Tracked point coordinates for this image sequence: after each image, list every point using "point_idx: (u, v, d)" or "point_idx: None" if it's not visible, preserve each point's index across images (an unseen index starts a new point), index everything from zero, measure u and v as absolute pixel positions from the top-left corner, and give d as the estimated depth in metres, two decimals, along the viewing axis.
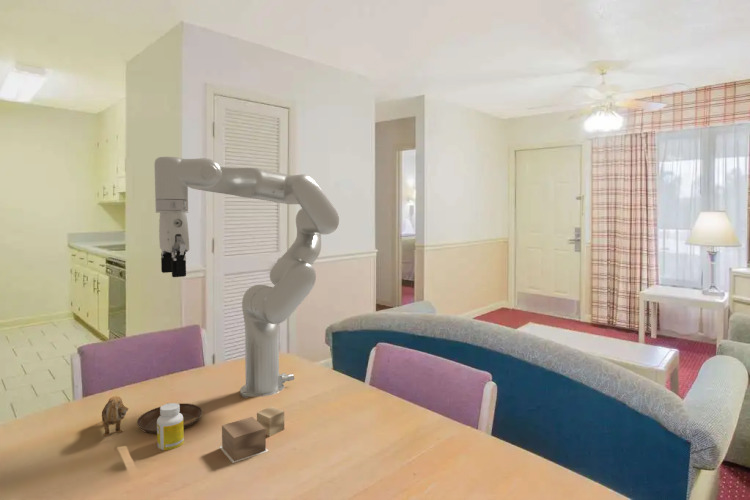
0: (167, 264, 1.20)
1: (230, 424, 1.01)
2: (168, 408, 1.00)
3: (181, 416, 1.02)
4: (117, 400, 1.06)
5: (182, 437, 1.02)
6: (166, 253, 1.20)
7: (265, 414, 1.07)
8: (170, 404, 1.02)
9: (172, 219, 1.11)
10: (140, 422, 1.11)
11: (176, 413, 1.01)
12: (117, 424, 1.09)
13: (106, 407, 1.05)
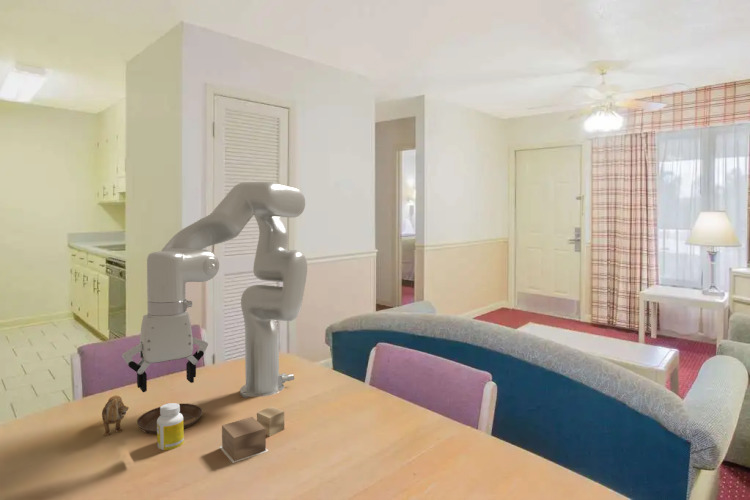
0: None
1: (230, 424, 1.01)
2: (168, 408, 1.00)
3: (181, 416, 1.02)
4: (117, 399, 1.07)
5: (182, 437, 1.02)
6: None
7: (265, 414, 1.07)
8: (170, 404, 1.02)
9: None
10: (140, 422, 1.11)
11: (176, 413, 1.01)
12: (117, 423, 1.09)
13: (106, 406, 1.06)
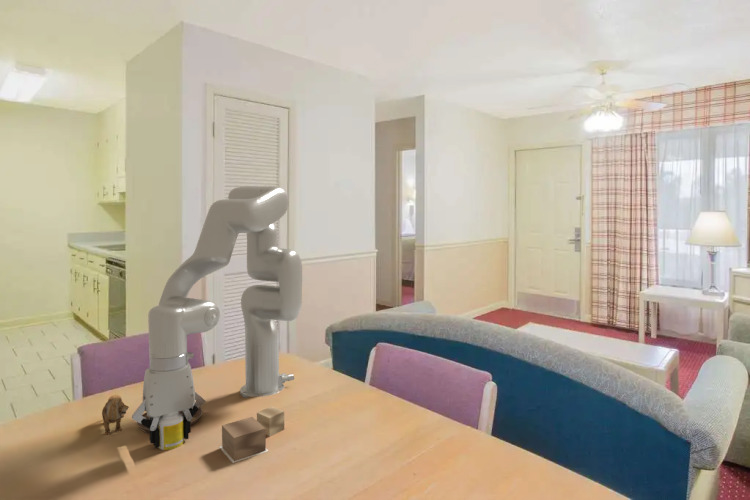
0: None
1: (230, 424, 1.01)
2: None
3: (181, 416, 1.02)
4: (117, 399, 1.07)
5: (182, 437, 1.02)
6: None
7: (265, 414, 1.07)
8: None
9: (191, 372, 1.03)
10: None
11: (176, 413, 1.01)
12: (117, 422, 1.10)
13: (106, 406, 1.06)
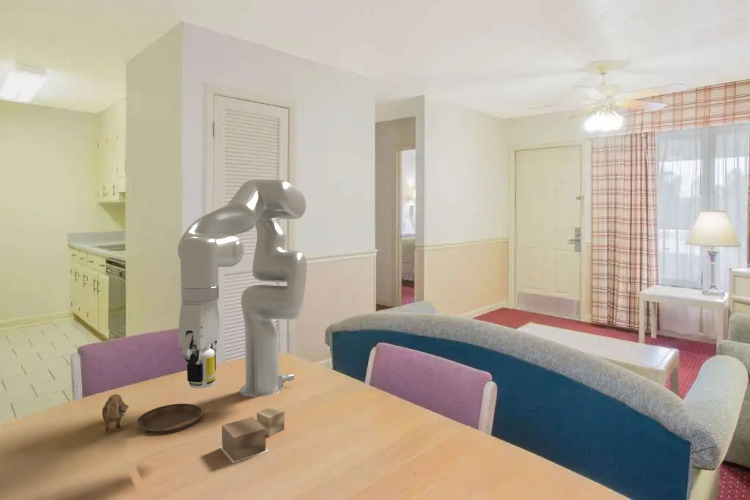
0: None
1: (230, 424, 1.01)
2: None
3: None
4: (117, 398, 1.08)
5: None
6: None
7: (265, 414, 1.07)
8: None
9: None
10: (140, 422, 1.11)
11: (210, 345, 1.00)
12: (117, 421, 1.10)
13: (107, 405, 1.07)
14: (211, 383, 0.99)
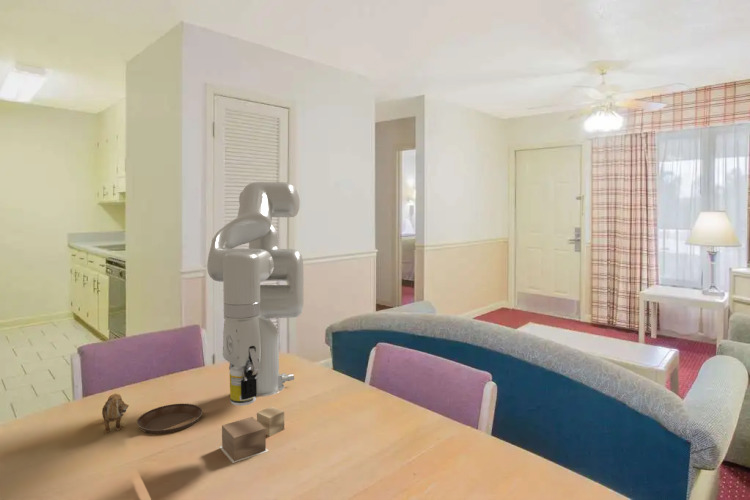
0: None
1: (230, 424, 1.01)
2: None
3: None
4: (117, 397, 1.08)
5: None
6: None
7: (265, 414, 1.07)
8: None
9: None
10: (140, 422, 1.11)
11: None
12: (117, 421, 1.10)
13: (107, 404, 1.07)
14: None
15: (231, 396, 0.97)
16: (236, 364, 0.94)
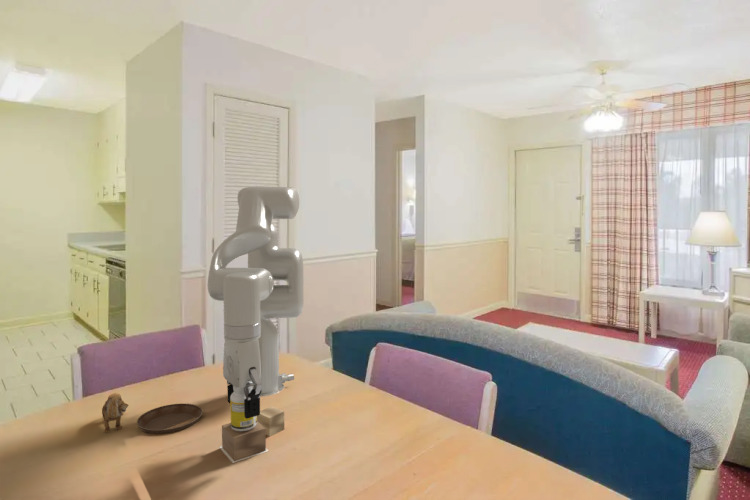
0: None
1: (230, 424, 1.01)
2: None
3: None
4: (117, 397, 1.08)
5: None
6: None
7: (265, 414, 1.07)
8: None
9: None
10: (140, 422, 1.11)
11: None
12: (117, 420, 1.11)
13: (106, 404, 1.07)
14: (256, 421, 1.01)
15: (232, 422, 0.98)
16: (236, 385, 0.94)
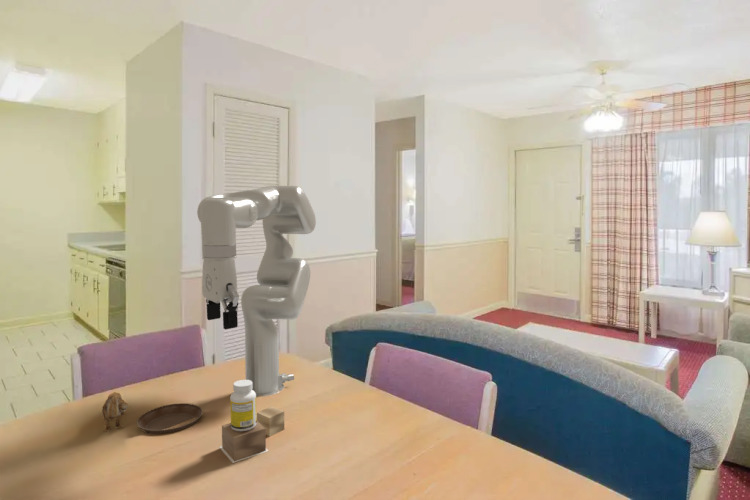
0: None
1: (230, 424, 1.01)
2: (247, 382, 0.99)
3: None
4: (117, 396, 1.09)
5: None
6: None
7: (265, 414, 1.07)
8: (238, 383, 0.99)
9: None
10: (140, 422, 1.11)
11: None
12: (117, 419, 1.11)
13: (107, 403, 1.08)
14: (256, 421, 1.01)
15: (232, 422, 0.98)
16: (215, 299, 1.03)
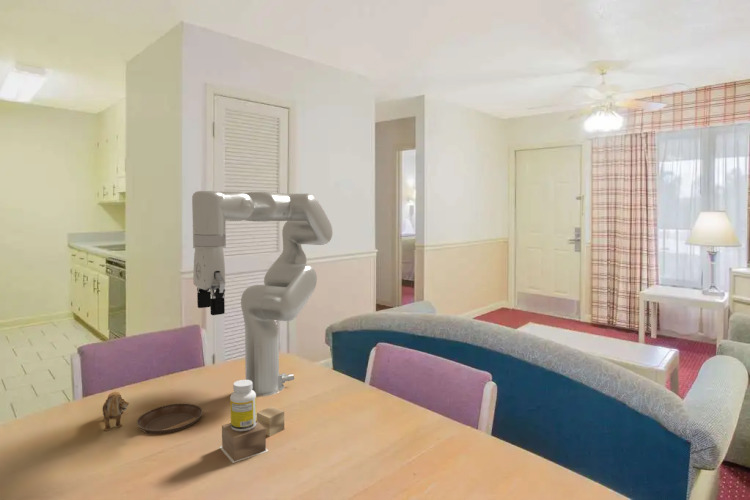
0: None
1: (230, 424, 1.01)
2: (247, 382, 0.99)
3: None
4: (118, 395, 1.09)
5: None
6: None
7: (265, 414, 1.07)
8: (238, 383, 0.99)
9: None
10: (140, 422, 1.11)
11: None
12: (117, 419, 1.12)
13: (107, 402, 1.08)
14: (256, 421, 1.01)
15: (232, 422, 0.98)
16: (203, 286, 1.08)
